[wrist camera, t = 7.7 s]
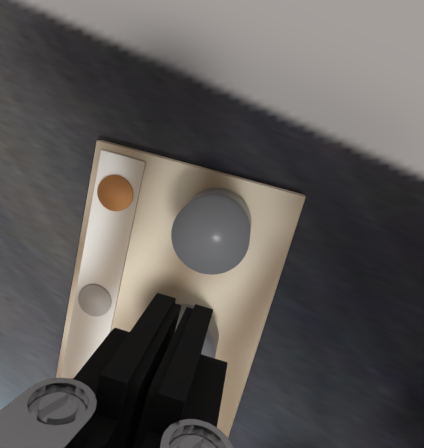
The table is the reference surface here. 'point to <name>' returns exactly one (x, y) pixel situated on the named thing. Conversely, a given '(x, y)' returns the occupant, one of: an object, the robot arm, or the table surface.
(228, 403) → the button board
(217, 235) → the button
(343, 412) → the table surface
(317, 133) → the table surface
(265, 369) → the table surface
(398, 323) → the table surface
